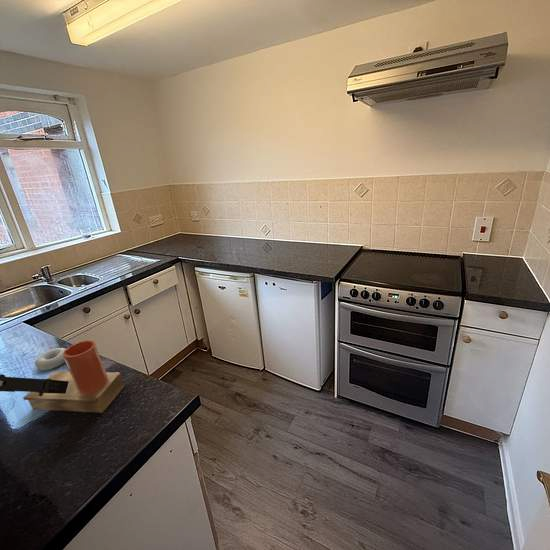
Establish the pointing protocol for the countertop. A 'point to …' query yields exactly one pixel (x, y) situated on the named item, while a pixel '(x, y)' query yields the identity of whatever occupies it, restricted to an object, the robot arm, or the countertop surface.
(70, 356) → the cup
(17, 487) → the countertop surface
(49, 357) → the donut
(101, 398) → the wooden block
